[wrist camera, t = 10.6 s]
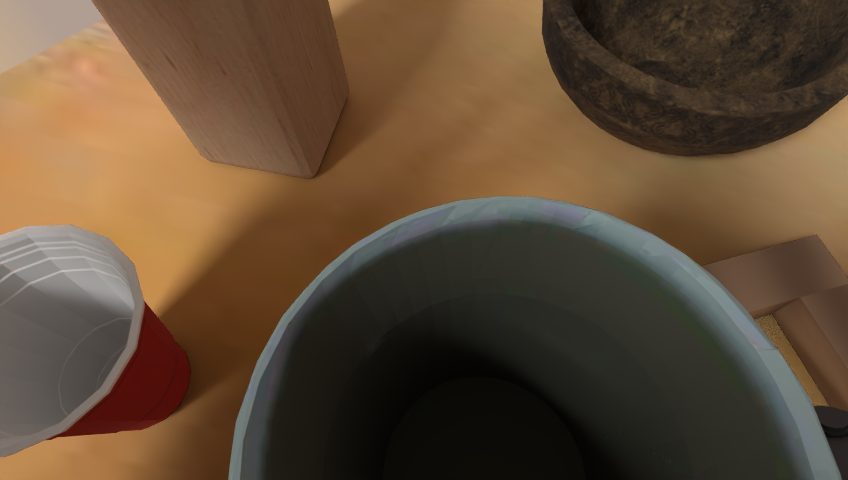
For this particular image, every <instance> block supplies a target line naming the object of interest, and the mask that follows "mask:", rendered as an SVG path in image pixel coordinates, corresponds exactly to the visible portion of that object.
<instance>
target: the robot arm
mask: <svg viewBox="0 0 848 480" xmlns="http://www.w3.org/2000/svg"><path fill="white" fill-rule="evenodd" d="M814 409H815V411H816V414H817V416H818V419H819V421H820V424H821V426H822V429H823V431H824V434H825V436H826V439H827V442H828V444H829V447H830V449H831V452H832V454H833V457H834V459H835V462H836V464H837V467H838V469H839V472H840V474H841V479H842V480H848V412H847V411H844V410H841V409H838V408H834V407H826V406H814Z"/></svg>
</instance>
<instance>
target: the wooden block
mask: <svg viewBox="0 0 848 480" xmlns="http://www.w3.org/2000/svg"><path fill="white" fill-rule="evenodd" d="M92 2H93V3H94V5H95V6H96V7H97V9H98V10H99V12H100V13H101V15H102V16H103V17H104V19H105V20H106V22H107V23H108V24H109V26H110V27H111V29H112V30H113V32H114V33H115V34H116V36H117V37H118V39H119V40H120V41H121V43H122V44H123V46H124V47H125V49H126V50H127V51H128V53H129V54H130V56H131V57H132V58H133V60H134V61H135V63H136V64H137V65H138V67H139V68H140V70H141V71H142V73H143V74H144V75H145V77H146V78H147V80H148V81H149V82H150V84H151V85H152V87H153V88H154V90H155V91H156V92H157V94H158V95H159V97H160V98H161V99H162V101H163V102H164V104H165V105H166V106H167V108H168V109H169V111H170V112H171V114H172V115H173V116H174V118H175V119H176V121H177V122H178V123H179V125H180V126H181V128H182V129H183V131H184V132H185V133H186V135H187V136H188V138H189V139H190V140H191V142H192V143H193V145H194V146H195V148H196V149H197V150H198V152H199V153H200V155H201V156H203V157H204V158H206V159H207V160H210V161H212V162H216V163H222V164H227V165H233V166H239V167H244V168H250V169H256V170H261V171H267V172H272V173H278V174H284V175H289V176H295V177H301V178H312V177H314V176H315V174H316V173H317V172H318V169H319V167H320V164H321V162H322V159H323V157H324V154H325V152H326V149H327V147H328V144H329V142H330V139H331V137H332V134H333V132H334V129H335V127H336V124H337V122H338V119H339V117H340V114H341V112H342V109H343V107H344V104H345V102H346V99H347V96H348V93H349V88H348V82H347V78H346V74H345V70H344V66H343V61H342V57H341V53H340V49H339V44H338V40H337V36H336V32H335V28H334V23H333V19H332V15H331V11H330V6H329V2H328V0H92Z"/></svg>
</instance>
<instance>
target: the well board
mask: <svg viewBox="0 0 848 480" xmlns="http://www.w3.org/2000/svg"><path fill="white" fill-rule="evenodd" d="M701 267H702V268H704V269H705V270H706V271H708V272H709V273H710V274H711V275H713V276H714V277H715V278H716V279H717V280H718V281H719V282H720V283H721V284H722V285H723V286H724V287H725V288H726V289H727V290H728V291H729V292H730V293H731V294H732V295H733V296H734V297H735V298H736V299H737V300H738V301H739V302H740V304H741V305H742V306H743V307H744V308H745V309H746V310H747V311H748V313H749V314H750V315H751V316H752V318H753V319H756V318H759V317H763V316H766V315H770V314H772V315H773V316H774V318H775V319H776V321H777V323H778V324H779V326H780V327H781V329H782V331H783V332H784V334H785V335H786V337H787V339H788V340H789V342H790V343H791V345H792V347H793V348H794V350H795V351H796V353H797V355H798V356H799V358H800V359H801V361H802V363H803V364H804V366H805V367H806V369H807V371H808V372H809V374H810V375H811V377H812V379H813V380H814V382H815V383H816V385H817V387H818V388H819V390H820V391H821V393H822V395H823V396H824V398H825V399H826V401H827V403H828V404H829V406H830V407H834V408H838V409H841V410H844V411H847V412H848V277H847V276H846V274H845V273H844V271H843V270H842V269H841V267H840V266H839V265H838V263H837V262H836V260H835V259H834V258H833V256H832V255H831V254H830V252H829V251H828V249H827V248H826V247H825V245H824V244H823V242H822V241H821V240H820V238H819V237H818V236H817V234H816V235H813V236H809V237H806V238H802V239H798V240H795V241H791V242H787V243H784V244H780V245H776V246H773V247H769V248H765V249H762V250H758V251H754V252H751V253H747V254H744V255H740V256H736V257H733V258H729V259H725V260H722V261H718V262H714V263H711V264H707V265H703V266H701Z"/></svg>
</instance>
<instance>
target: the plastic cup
mask: <svg viewBox="0 0 848 480" xmlns="http://www.w3.org/2000/svg"><path fill="white" fill-rule="evenodd" d="M190 374H191V370H190V366H189V363H188V359H187V356H186V353H185V351H184V350H183V349H182V348H181V347H180V346H179V345H178V344H177V343H176V341H175V340H174V339H173V335H172V334H171V333H170V332H169V331H168V329H167V328H166V327H165V326H164V324H163V323H162V322H161V321H160V320H159V318H158V317H157V316H156V315H155V313H154V312H153V311H152V310H151V309H150V307H149V306H148V305H147V304H146V302H145V301H144V299H143V295H142V292H141V288H140V284H139V280H138V276H137V272H136V269H135V266H134V264H133V263H132V261H131V260H130V259H129V258H128V257H127V256H126V255H125V254H124V253H123V252H122V251H121V250H120V249H119V248H118V247H117V246H116V245H115V244H114V243H113V242H112V241H111V240H110V239H109V238H108V237H105V236H102V235H99V234H97V233H94V232H91V231H88V230H85V229H82V228H79V227H76V226H73V225H50V226H26V227H23V228H20V229H17V230H15V231H12V232H9V233H6V234H3V235H0V457H6V456H9V455H12V454H15V453H17V452H19V451H21V450H24V449H26V448H28V447H30V446H33V445H35V444H37V443H39V442H42V441H44V440H52V439H54V438H56V437H66V436H80V435H93V434H106V433H117V432H119V431H132V430H142V429H144V428H148V427H150V426H152V425H154V424H156V423H158V422H161V421H163V420H165V419H166V418H167V417H168V416H169V415H170V414H171V413H172V412H173V411H174V410H175V409H176V408H177V407H178V406H179V405H180V403H181V401H182V400H183V398H184V396H185V394H186V392H187V390H188V388H189V381H190Z"/></svg>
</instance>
